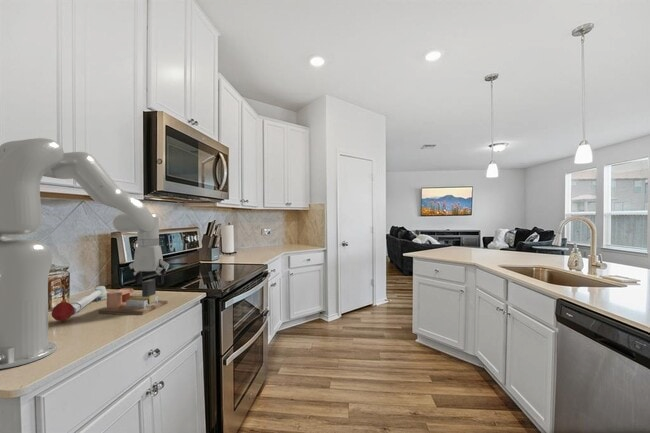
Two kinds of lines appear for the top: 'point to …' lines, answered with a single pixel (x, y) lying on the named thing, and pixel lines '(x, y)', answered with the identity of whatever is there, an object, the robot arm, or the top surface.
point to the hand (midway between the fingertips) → (149, 284)
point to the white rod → (90, 298)
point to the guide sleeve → (140, 303)
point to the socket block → (119, 297)
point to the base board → (132, 309)
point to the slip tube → (146, 291)
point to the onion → (62, 311)
